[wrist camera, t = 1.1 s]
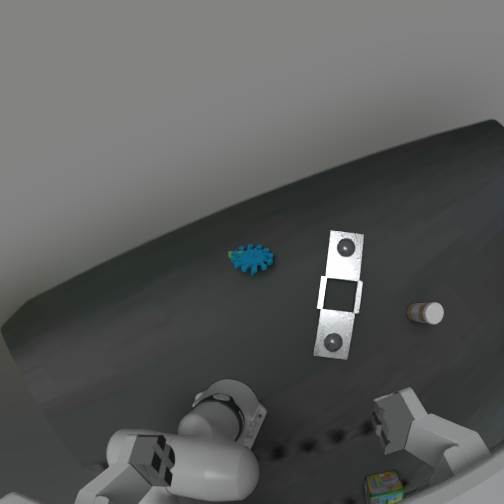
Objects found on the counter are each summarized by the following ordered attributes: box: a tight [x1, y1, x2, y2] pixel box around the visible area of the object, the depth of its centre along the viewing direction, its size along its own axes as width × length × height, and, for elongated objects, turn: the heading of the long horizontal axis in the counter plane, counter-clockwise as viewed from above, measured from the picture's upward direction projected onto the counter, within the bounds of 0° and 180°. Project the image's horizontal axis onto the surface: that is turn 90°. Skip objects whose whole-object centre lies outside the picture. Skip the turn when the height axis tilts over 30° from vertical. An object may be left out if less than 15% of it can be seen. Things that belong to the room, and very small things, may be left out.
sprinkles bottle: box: [407, 302, 444, 324], centre depth 59 cm, size 5×4×14 cm
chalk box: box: [364, 470, 404, 504], centre depth 51 cm, size 9×9×15 cm
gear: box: [228, 245, 273, 275], centre depth 73 cm, size 11×6×10 cm
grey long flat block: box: [313, 231, 364, 359], centre depth 68 cm, size 29×10×4 cm, turn 171°
